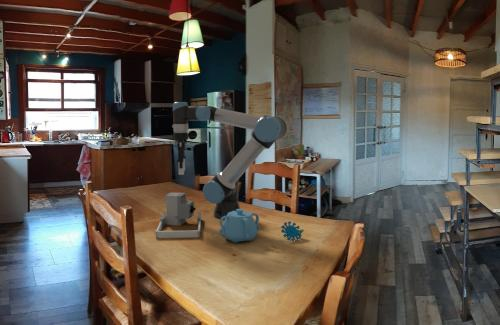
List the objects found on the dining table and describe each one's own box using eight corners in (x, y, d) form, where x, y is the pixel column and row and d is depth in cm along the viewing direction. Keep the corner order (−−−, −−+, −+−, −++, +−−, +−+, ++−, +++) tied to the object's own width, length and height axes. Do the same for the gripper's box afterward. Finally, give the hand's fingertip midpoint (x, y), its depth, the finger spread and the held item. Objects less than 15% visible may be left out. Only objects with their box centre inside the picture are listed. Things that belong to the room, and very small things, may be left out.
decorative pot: (214, 240, 178) (214, 211, 176) (233, 231, 192) (233, 203, 190) (246, 247, 170) (246, 216, 169) (263, 236, 184) (263, 207, 183)
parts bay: (200, 226, 199) (200, 220, 199) (199, 237, 183) (199, 230, 182) (160, 227, 197) (160, 221, 197) (155, 238, 181) (155, 231, 180)
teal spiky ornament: (284, 239, 175) (280, 219, 181) (279, 246, 179) (275, 226, 185) (306, 240, 179) (302, 221, 185) (301, 246, 183) (296, 227, 189)
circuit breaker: (192, 226, 199) (192, 196, 197) (165, 224, 202) (164, 195, 200) (197, 222, 207) (197, 193, 205) (171, 220, 209) (170, 192, 207)
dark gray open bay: (201, 219, 212) (201, 212, 212) (200, 226, 199) (200, 218, 199) (163, 220, 210) (163, 212, 210) (160, 227, 197) (160, 219, 197)
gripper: (175, 131, 221) (176, 169, 223) (171, 133, 196) (173, 176, 199) (188, 130, 222) (189, 169, 224) (187, 133, 197) (188, 176, 200)
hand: (181, 172), depth 212 cm, fingers open, 13 cm apart
